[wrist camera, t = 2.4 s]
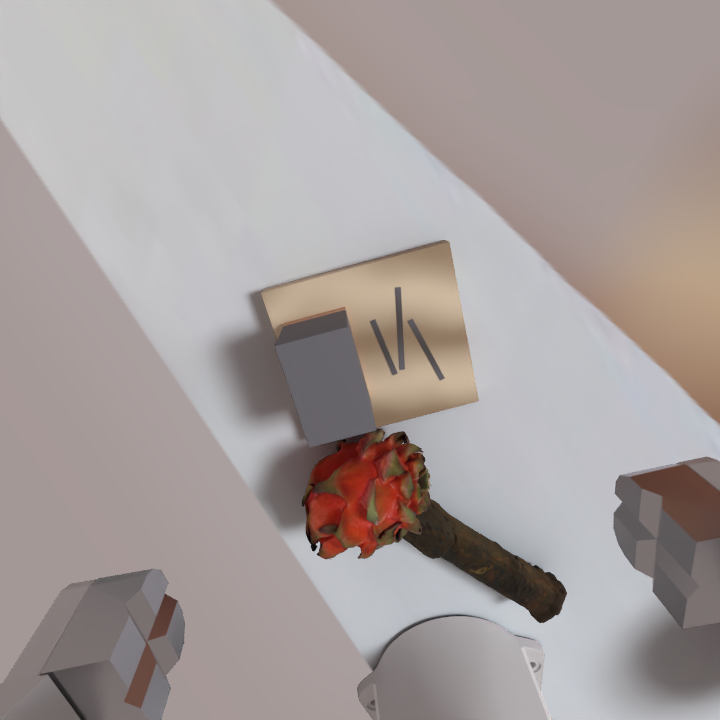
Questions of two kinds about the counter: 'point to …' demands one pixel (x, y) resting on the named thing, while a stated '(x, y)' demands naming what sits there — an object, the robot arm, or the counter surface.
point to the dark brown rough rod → (488, 562)
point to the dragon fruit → (366, 495)
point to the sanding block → (325, 377)
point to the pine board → (394, 327)
